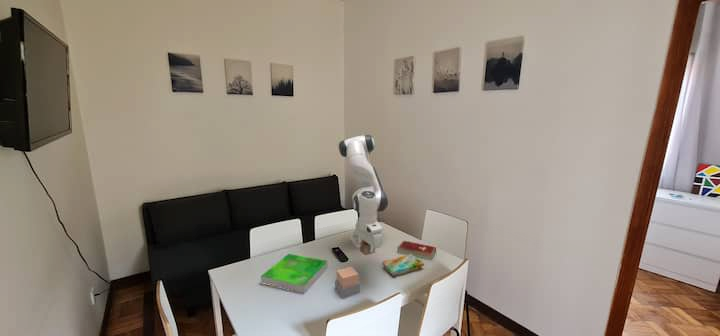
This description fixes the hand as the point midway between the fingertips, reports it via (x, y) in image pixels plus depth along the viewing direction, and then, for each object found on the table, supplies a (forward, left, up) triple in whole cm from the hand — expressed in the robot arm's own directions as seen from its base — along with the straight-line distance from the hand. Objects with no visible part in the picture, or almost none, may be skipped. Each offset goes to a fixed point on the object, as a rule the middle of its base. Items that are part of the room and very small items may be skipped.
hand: (367, 249), depth 150 cm
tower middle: (+4, -14, -12) cm, 19 cm away
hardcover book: (-9, +41, -17) cm, 45 cm away
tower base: (+4, -14, -17) cm, 22 cm away
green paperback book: (-22, -31, -17) cm, 42 cm away
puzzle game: (+2, +22, -17) cm, 28 cm away
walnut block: (0, 0, -2) cm, 2 cm away
